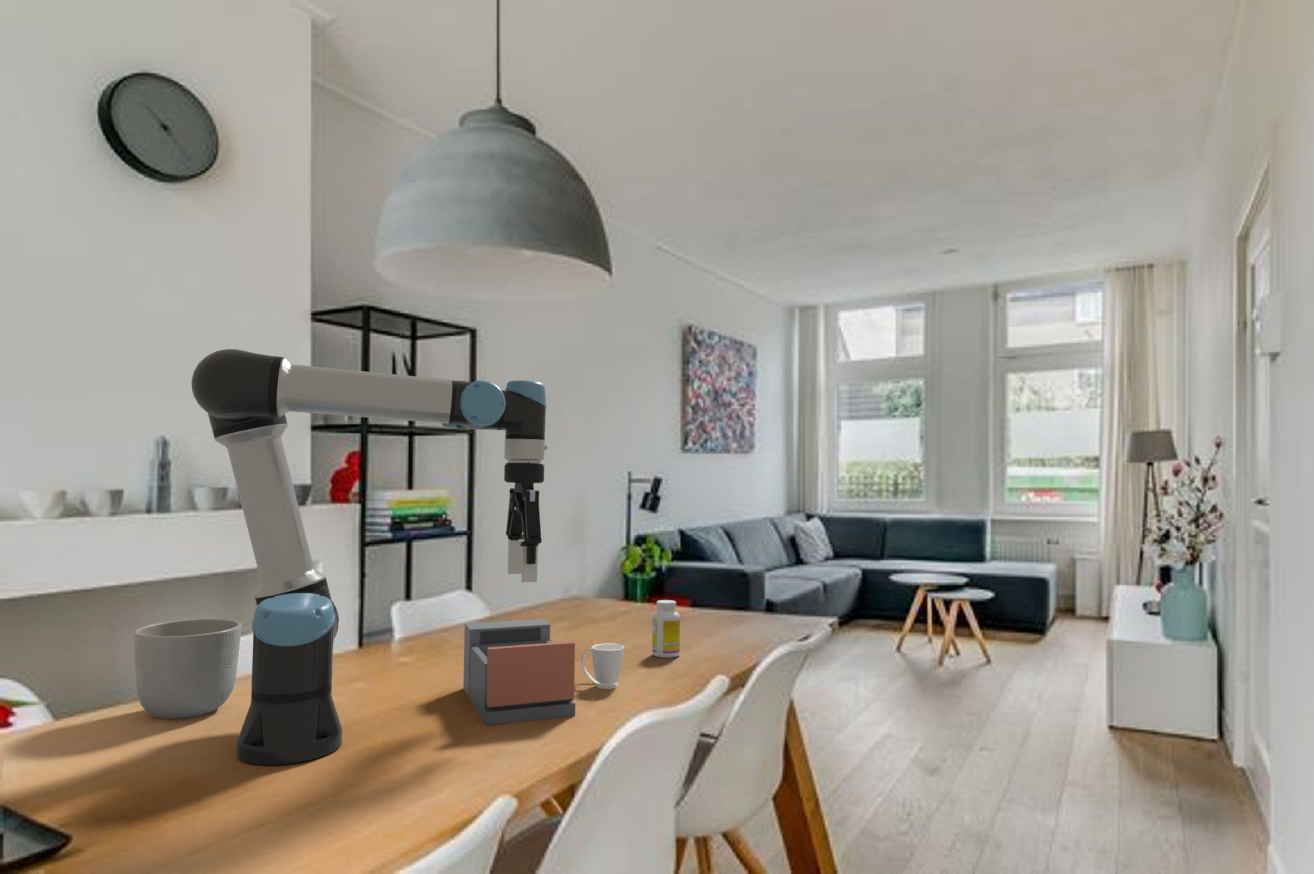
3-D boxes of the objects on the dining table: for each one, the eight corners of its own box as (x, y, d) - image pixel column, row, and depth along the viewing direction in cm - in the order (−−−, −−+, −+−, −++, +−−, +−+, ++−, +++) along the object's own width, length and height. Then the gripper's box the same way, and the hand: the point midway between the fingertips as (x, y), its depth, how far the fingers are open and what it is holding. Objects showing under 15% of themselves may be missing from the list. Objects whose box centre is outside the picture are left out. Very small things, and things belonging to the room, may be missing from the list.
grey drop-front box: (486, 724, 141) (487, 666, 142) (469, 697, 158) (470, 645, 158) (575, 715, 147) (576, 659, 148) (549, 689, 164) (550, 639, 164)
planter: (222, 693, 158) (224, 614, 159) (252, 713, 146) (255, 627, 147) (120, 711, 147) (123, 626, 147) (143, 733, 134) (147, 641, 135)
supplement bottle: (685, 654, 196) (685, 600, 197) (670, 659, 191) (671, 604, 191) (661, 650, 200) (662, 598, 200) (646, 655, 194) (647, 601, 195)
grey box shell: (469, 697, 158) (470, 629, 158) (463, 688, 164) (464, 623, 165) (549, 689, 164) (550, 624, 164) (540, 681, 170) (541, 618, 171)
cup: (611, 692, 162) (611, 651, 163) (571, 685, 168) (572, 645, 168) (631, 684, 168) (631, 645, 169) (592, 677, 174) (592, 639, 174)
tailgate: (487, 710, 141) (488, 649, 142) (486, 707, 143) (487, 647, 143) (574, 701, 147) (575, 642, 148) (571, 698, 149) (572, 641, 149)
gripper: (560, 462, 146) (557, 585, 145) (529, 462, 167) (526, 569, 167) (519, 461, 143) (516, 587, 142) (492, 461, 165) (489, 570, 164)
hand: (521, 577), depth 154 cm, fingers open, 11 cm apart
